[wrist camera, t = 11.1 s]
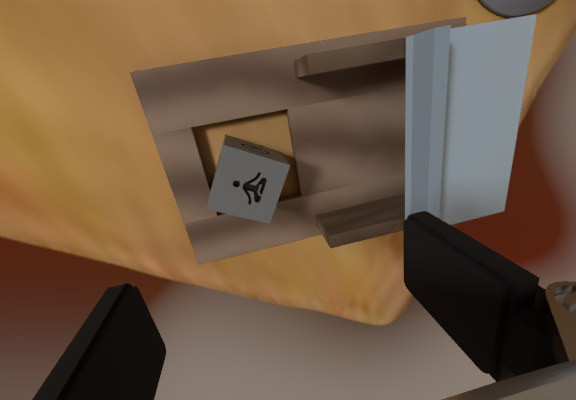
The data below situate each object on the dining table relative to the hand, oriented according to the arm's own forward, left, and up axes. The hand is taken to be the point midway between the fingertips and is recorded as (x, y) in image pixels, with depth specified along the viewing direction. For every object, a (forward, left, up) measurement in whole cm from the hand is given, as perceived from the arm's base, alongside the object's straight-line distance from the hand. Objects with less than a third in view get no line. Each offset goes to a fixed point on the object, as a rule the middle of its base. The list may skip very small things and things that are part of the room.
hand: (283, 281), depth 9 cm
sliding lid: (0, +16, -11) cm, 20 cm away
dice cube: (0, -1, -17) cm, 17 cm away
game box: (0, +6, -17) cm, 18 cm away
